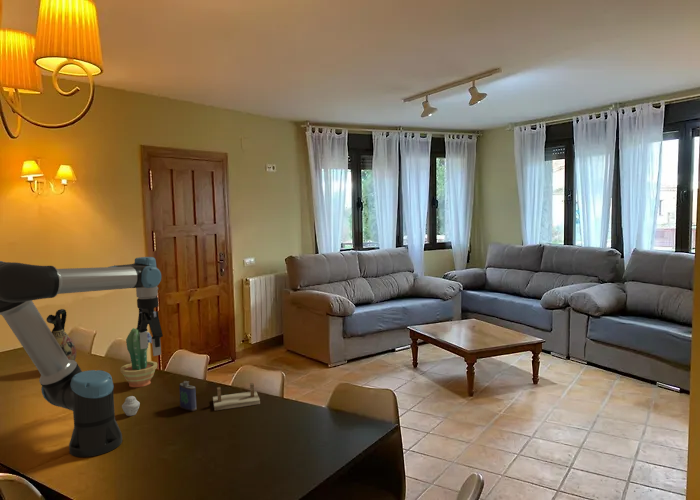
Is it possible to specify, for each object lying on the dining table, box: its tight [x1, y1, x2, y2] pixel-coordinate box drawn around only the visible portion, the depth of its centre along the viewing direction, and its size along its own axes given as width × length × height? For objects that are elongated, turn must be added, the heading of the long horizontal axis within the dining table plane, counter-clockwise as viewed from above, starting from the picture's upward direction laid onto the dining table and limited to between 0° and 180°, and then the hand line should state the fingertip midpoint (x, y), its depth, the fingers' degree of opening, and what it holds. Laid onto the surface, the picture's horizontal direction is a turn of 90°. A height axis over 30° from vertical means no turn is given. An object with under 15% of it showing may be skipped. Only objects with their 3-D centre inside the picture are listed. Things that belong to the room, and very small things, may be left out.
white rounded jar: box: [121, 395, 141, 417], centre depth 183 cm, size 6×6×7 cm
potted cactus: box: [119, 327, 158, 388], centre depth 217 cm, size 15×15×25 cm
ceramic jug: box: [46, 308, 77, 361], centre depth 239 cm, size 17×15×30 cm
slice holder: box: [212, 382, 261, 412], centre depth 192 cm, size 11×17×6 cm, turn 108°
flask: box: [178, 380, 197, 412], centre depth 187 cm, size 9×3×11 cm, turn 50°
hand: (150, 351), depth 190 cm, fingers open, 13 cm apart
